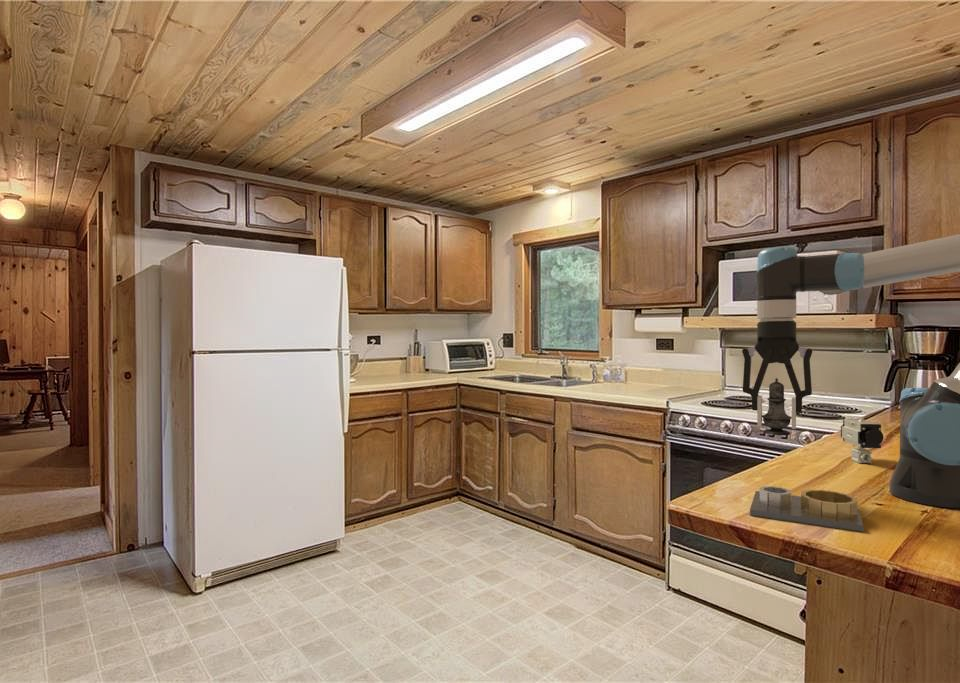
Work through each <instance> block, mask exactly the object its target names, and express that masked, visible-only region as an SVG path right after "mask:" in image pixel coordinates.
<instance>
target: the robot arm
mask: <svg viewBox="0 0 960 683" xmlns="http://www.w3.org/2000/svg"><path fill="white" fill-rule="evenodd" d="M756 268H757V269H756V280H757V281H756V288H757V289H756V291H757V292H756V294H757V295H756V296H757V301H756V309H757V310H756V317H757V319H758V320H759V321H758V323H757V324H756V325H757V326H756V327H757V328H756V329H757V330H756V331H757V332H756V337H757V338H756V343H755V344H754V346H751V347H744V348H743V349H741V352H742V356H743V359H744V360H743V361H744V362H743V378H742V391H743V393H745V394H748V395H750V396H751V410H752V411H754V412H755V411H757V412H756V413H757V416H756V417H757V418H756V419H757V424H756V426H757V427H762V426H763V417H762V415H763V395H759V392H760V390H761V386H762V384H763V382H764V378H765V376H766V373H767V370H768V367H769V364H775V363H777V364H784V366H785V369H786V372H787V376H788V378H789V381H790V383H791V386H792V389H793V392H794V395H795V396H792V397H791V417H792V419H791V429H792V430H796V429H797V414H801V413H802V412H803V398H804V397H809V396H812V394H813V389H812V375H811V374H812V373H811V372H812V371H811V361H810V360H811V357H812V354H813V349H812V348H810V347H809V348H806V347H803V346H800V345H799V342H798V341H797V322H796V321H795V320H794V319H796V318H797V293H800V292H801V293H805V292H820V293H822V294H824V295H827V296H833V295H839V294H842V293H845V292H850V291H856V290H861V289H866V288H872V287H878V286H884V285H888V284H894V283H901V282H906V281H907V282H908V281H912V280H919V279H925V278H929V277H930V278H931V277H936V276H941V275H946V274H947V275H948V274H954V273H958V272H959V273H960V233H959V234H954V235H950V236H943V237H938V238H935V239H930V240H925V241H921V242H914V243H910V244H905V245H901V246H896V247H891V248H886V249H881V250H880V249H879V250H876V251H870V252H866V253H861V252H841V253H833V254H832V253H831V254H820V255H819V254H818V255H806V256H805V255H804V256H803V255H802V256H801V255H798V254H797V249H796V248H795V247H788V246H787V247H772V248H771V247H770V248H766V249H763V250H761V251H760V252H759V253H758V255H757V266H756ZM755 352H757V353H758V354H759V356H760V357H761V359H762V361H761V363H760V367H759V371H758V373H757V376H756V379H755V382H754V385H753V388H752V387H751V374H752V372H751V371H752V357H754V355H755ZM797 352H798V353H799V356H800V357H801V358H802V359H803V360H802V362H803V363H802V364H803V378H804V381H803V382H804V389H803V390H802V389H801V386H800V384H799V381H798V379H797V376H796V372H795V370H794V367H793V364H792V361H791V359H792V358H793V357H794V356H795V354H796V353H797ZM898 403H899V405H900V414H899V416H900V418H899V419H900V420H899V421H900V423H899V424H900V425H899V426H900V427H899V432H900V433H899V459H898V461H897V463H896V465H895V468H894V470H893V473H892V475H891V477H890V479H889V488H888V489H889V490H888V491H889V493H890V494H891V495H893V496H894V497H897V498H900V499H903V500H906V501H909V502H913V503H916V504H917V503H918V504H922V505H927V506H934V507H939V508H940V507H941V508H948V509H960V362H958V364H957V365H956V367H955V369H954V370H953V371H952V372H951V373H950V375H949V376H947V377H943V378H938V379H934V381H933V382H932V384H931V385H930V387H906V388H903V389H902V390H901V393H900V398H899V402H898Z"/></svg>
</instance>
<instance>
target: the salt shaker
mask: <svg viewBox="0 0 960 683" xmlns="http://www.w3.org/2000/svg"><path fill="white" fill-rule="evenodd" d="M768 388H769V389H768V393H769V394H768V396H769V397H767V400H768V410H767V412H766V413H765V414H762V422H763V424H764V425H765V426H766V427H768V429H764V430H763V431H762V432H763V434H767V435H772V436H790V435H791V432H790V431H788V430H785V429H786V428H787V427H789V425H790V424H791V420H792V416H790V415H788V414H787V413H786V410H785V401H787V399H786V398H785V385H784V383H781V382H780V381H779V379H778V377H775V379H774V381H773V382H772V383H770V384H769V387H768Z"/></svg>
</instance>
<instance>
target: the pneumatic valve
mask: <svg viewBox="0 0 960 683" xmlns="http://www.w3.org/2000/svg"><path fill="white" fill-rule="evenodd" d="M840 438H842V442H845V443H847V444H849V445H852V447H851V449H850V451H851V453H850V454H851V458H850V460H851V461H852V462H855V463H858V464H862V463H863V464H872V455H871V454H872V452H873V451H872V450H870V449H881V448H882V446H881V445H882V443H883V441H884V438H885V436H884V433H883V432H882V424H880V423H878V422H877V423H876V422H873V421H870V420H866V419H864V417H862V416H860V417H859V418H843V419H842V425H841V426H840ZM854 447H857V448H854Z"/></svg>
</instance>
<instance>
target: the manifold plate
mask: <svg viewBox="0 0 960 683" xmlns="http://www.w3.org/2000/svg"><path fill="white" fill-rule="evenodd" d="M858 504H859V503H858V499H857V497H854V496H852V495H850V494H847V493H843V492H839V491H834V490H825V489H807V490H802V491H801V492H800V495H793V494H792V490H791V489H788V488H786V487H782V486H773V485H763V486H759V489H758V490H755V492H754V496H753V499H752V502H751V505H750V508H749V516H750V517H758V518H759V517H760V518H766V519H772V520H778V521H785V522H793V523H800V524H807V525H812V526H820V527H826V528H831V529H832V528H834V529H839V530H840V529H841V530H847V531H853V532H859V533H860V532H861V533H864V524H863V520H862V516H861V512H860V509H859V506H858Z"/></svg>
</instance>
